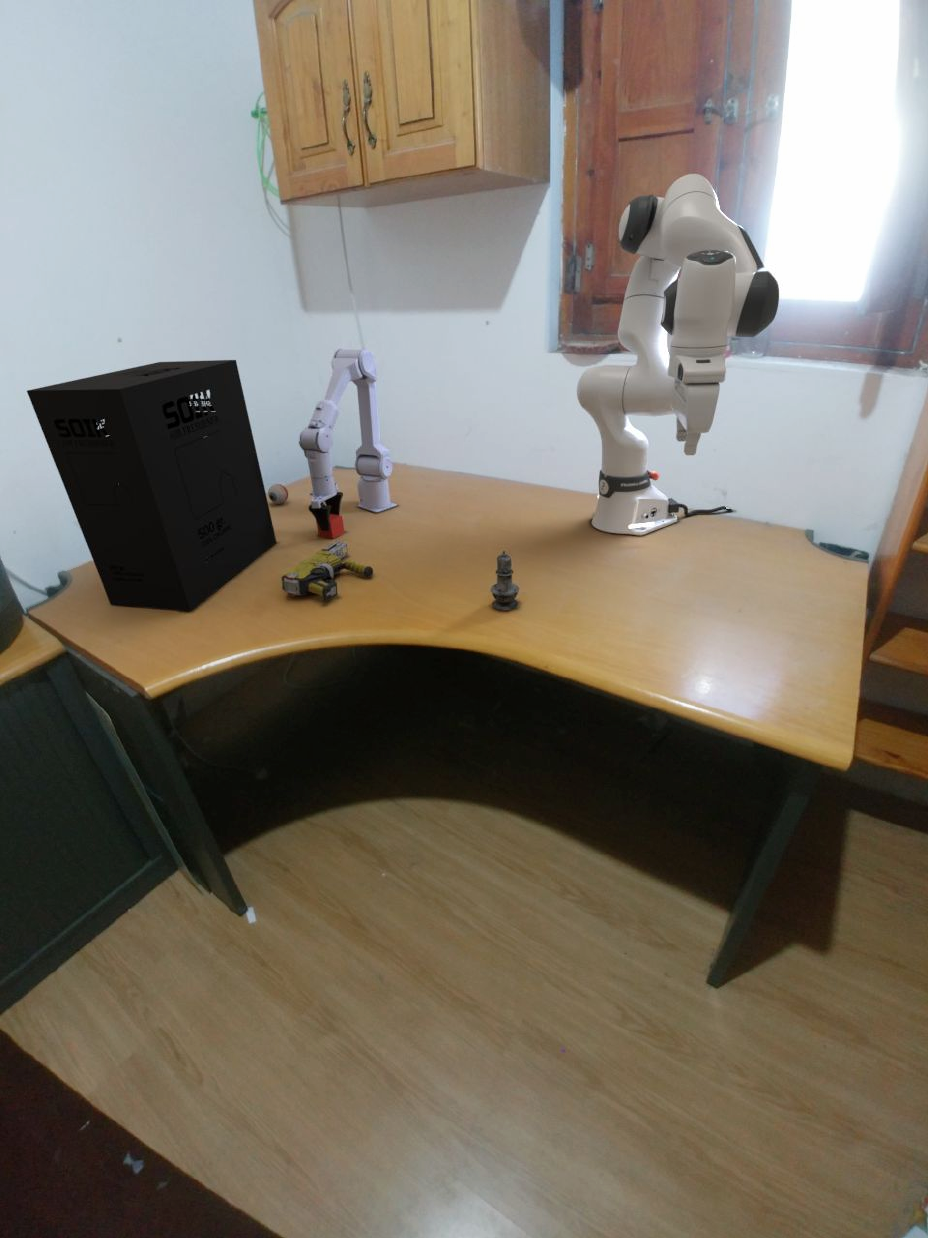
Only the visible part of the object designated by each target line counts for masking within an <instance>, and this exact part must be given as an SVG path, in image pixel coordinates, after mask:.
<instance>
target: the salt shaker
mask: <svg viewBox="0 0 928 1238" xmlns="http://www.w3.org/2000/svg"><path fill="white" fill-rule="evenodd" d="M494 573H495V575H496V583H495V584H493V585H491V587H490V592H491V594H492V597H493V598H494V600H493V602H492V603H491V605H492V607H493V608H494V609H495V610H499V611H511V610H514V609H516V608H518V605H519V602H518V601H517V600H516V598H517V596H518V595H519V594H518V592H520V587H519V585H518V584H516V583H514V582H513V574H514V570H513V568H512V556H511V555H509V554H507V552H506V551H505V550H503V551H502V554H499V555H498V556H497V558H496V570H495V572H494Z"/></svg>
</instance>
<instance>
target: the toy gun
mask: <svg viewBox="0 0 928 1238" xmlns="http://www.w3.org/2000/svg"><path fill="white" fill-rule="evenodd" d="M345 548H348V543H347V542H346V541H343V540H342V541H341V540H339V539H338V540H335V541H334V542H333V543H331V544H330V545H327V546H326V547H325V548H321V549H320V550H318V551H317V552H316V553H314V554H312V555H311V556H310V557H307V559H305V560H304V561H302V562H300V563H299V564H298V565H296V566H294V567H293V568H291V569H290V570H288V571H287V572H285V573H284V574H282V576H281V585H282V586H281V587H282V590H283V591H284V592H285V593H287V596H292V597H295V596H302V597H303V596H307V595H310V594H315V595H318V596H320V597H322V601H323V602H325V603H327V602H328V601H330V600H332V599H333V598H335V597H337V596H338V594H339V593H338V582H337V581H336V580H334V578H335V577H334V575H336V574H337V573H340V572H342V571H343V570H346V571H349V572H353V573H355V574H358V575H361V576H364V577H366V578H370V577H372V576H373V575H374V569H373V567H372V566H370V565H365V564H361V563H359V562H357V561H352V560H349V559H347V560H345V561H344V562H342V560H343V558H344V557H347V556H348V554H349V553H348V549H346V552H344V549H345Z"/></svg>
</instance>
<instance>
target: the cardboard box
mask: <svg viewBox="0 0 928 1238" xmlns="http://www.w3.org/2000/svg"><path fill="white" fill-rule="evenodd" d="M238 367H239V366H238V363H237V360H236V359H220V360H219V359H218V360H217V359H215V360H183V361H181V360H180V361H177V360H176V361H157V362H153V363H148V364H144V365H140V366H134V367H130V368H124V369H121V370H116V371H111V372H107V373H103V374H98V375H93V376H89V377H83V378H79V379H75V380H70V381H65V382H61V383H56V384H51V385H46V386H41V387H38V388H33V389H32V388H31V389H28V390H26V393H27V396H28V398H29V401H30V404H31V406H32V409H33V412H34V414H35V416H36V418H37V421H38V424H39V426H40V428H41V431H42V434H43V436H44V439H45V441H46V443H47V446H48V450H49V451H50V454H51V457H52V459H53V462H54V465H55V467H56V469H57V472H58V474H59V477H60V480H61V482H62V485H63V487H64V489H65V492H66V494H67V497H68V499H69V502H70V505H71V508H72V510H73V513H74V515H75V518H76V519H77V522H78V526H79V529H80V530H81V533H82V535H83V538H84V540H85V543H86V546H87V547H88V550H89V553H90V556H91V559H92V561H93V564H94V566H95V569H96V571H97V573H98V576H99V579H100V581H101V584H102V587H103V588H104V591H105V593H106V594H105V595H106V597H107V599H108V602H109V604H110V606H117V607H130V608H144V609H158V610H170V611H171V610H172V611H184V612H192V611H193V610H194V609H196V608H197V607H198V606H199V605H200V604H202V603H203V602H204V601H205V600H206V599H208V598H209V597H211V596H212V595H213V594H214V593H215V592H217V591H218V590H219V589H221V587H223V586H224V585H225V584H227V583H228V582H229V581H230V580H232V579H233V578H234V577H235V576H237V575H238V574H239V573H240V572H241V571H243V570H244V569H245V568H246V567H248V566H249V565H251V564H252V563H253V562H254V561H256V560H257V559H258V558H259V557H260V556H262V555H263V554H264V553H265V552H267V551H268V550H269V549H270V548H271V547H273V546H274V545H276V543H277V538H276V534H275V529H274V524H273V520H272V516H271V511H270V506H269V502H268V496H267V494H266V493H267V492H266V489H265V485H264V480H263V475H262V471H261V466H260V462H259V457H258V453H257V449H256V444H255V440H254V434H253V431H252V427H251V421H250V417H249V413H248V412H249V411H248V409H247V403H246V399H245V395H244V390H243V385H242V381H241V375H240V373H239V368H238ZM208 392H209V396H208ZM196 394H197V396H196ZM191 396H192V398H191ZM201 396H202V397H203V398H201Z"/></svg>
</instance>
